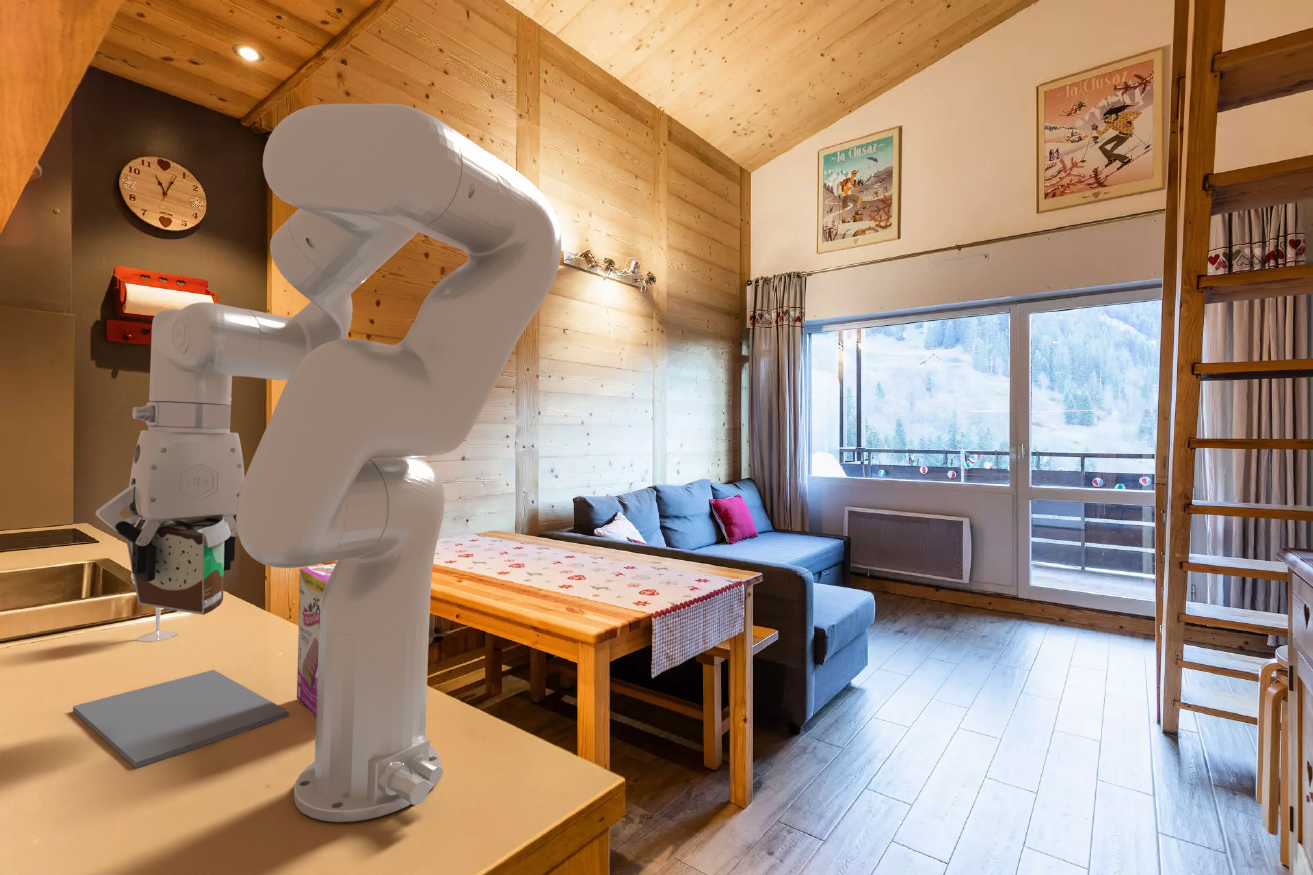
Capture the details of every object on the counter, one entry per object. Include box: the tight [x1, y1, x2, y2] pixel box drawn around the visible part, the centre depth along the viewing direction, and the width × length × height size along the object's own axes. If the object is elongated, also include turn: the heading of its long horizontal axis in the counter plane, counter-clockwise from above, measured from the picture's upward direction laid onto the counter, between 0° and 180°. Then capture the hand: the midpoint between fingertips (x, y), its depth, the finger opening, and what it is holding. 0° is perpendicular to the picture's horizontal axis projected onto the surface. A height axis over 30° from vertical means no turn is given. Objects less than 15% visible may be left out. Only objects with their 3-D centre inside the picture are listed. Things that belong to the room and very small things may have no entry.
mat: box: [72, 669, 289, 769], centre depth 71 cm, size 20×14×1 cm
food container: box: [120, 516, 231, 616], centre depth 71 cm, size 12×6×10 cm, turn 77°
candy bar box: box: [296, 563, 336, 717], centre depth 73 cm, size 11×5×16 cm, turn 47°
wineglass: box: [130, 572, 178, 643], centre depth 96 cm, size 7×7×12 cm
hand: (185, 572), depth 71 cm, fingers closed on food container, 6 cm apart
